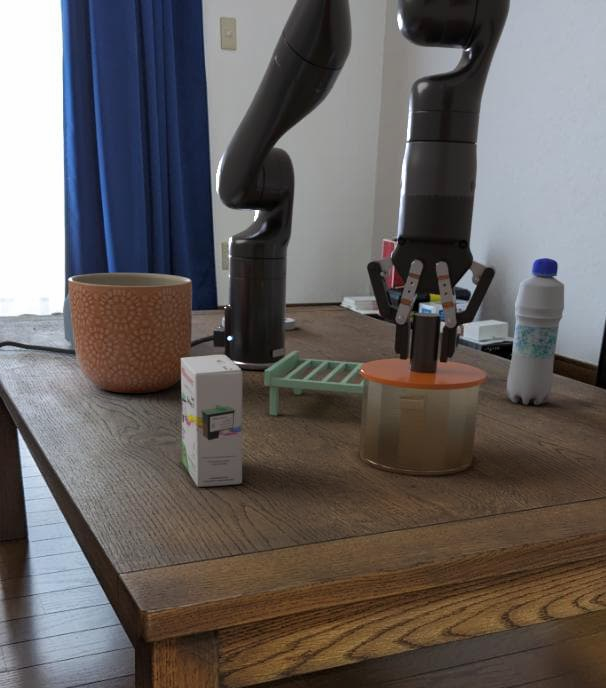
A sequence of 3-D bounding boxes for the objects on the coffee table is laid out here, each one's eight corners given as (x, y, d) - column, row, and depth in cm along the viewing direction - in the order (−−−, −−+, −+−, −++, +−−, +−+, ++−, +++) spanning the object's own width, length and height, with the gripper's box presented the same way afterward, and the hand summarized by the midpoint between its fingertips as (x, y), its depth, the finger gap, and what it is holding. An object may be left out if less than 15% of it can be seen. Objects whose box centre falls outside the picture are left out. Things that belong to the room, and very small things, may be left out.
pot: (345, 476, 95) (350, 387, 92) (374, 433, 112) (379, 356, 108) (465, 488, 93) (474, 398, 89) (476, 443, 109) (484, 365, 105)
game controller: (294, 325, 188) (294, 316, 188) (296, 335, 177) (296, 326, 176) (223, 323, 188) (223, 314, 187) (219, 334, 176) (219, 324, 175)
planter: (158, 405, 121) (154, 289, 115) (51, 391, 126) (42, 280, 121) (212, 381, 136) (212, 277, 130) (115, 370, 141) (110, 270, 136)
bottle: (552, 399, 132) (572, 257, 125) (548, 409, 126) (569, 261, 119) (506, 394, 134) (523, 255, 127) (500, 404, 128) (518, 258, 121)
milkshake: (460, 384, 140) (467, 319, 136) (426, 382, 141) (431, 317, 137) (461, 378, 144) (468, 315, 140) (428, 376, 145) (433, 313, 141)
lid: (348, 388, 94) (352, 318, 91) (370, 364, 107) (374, 302, 104) (481, 400, 91) (489, 328, 88) (488, 374, 104) (495, 310, 101)
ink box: (180, 463, 98) (178, 354, 93) (225, 460, 99) (225, 353, 95) (196, 488, 90) (194, 371, 86) (243, 485, 92) (244, 370, 87)
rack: (263, 415, 118) (264, 370, 116) (292, 391, 132) (293, 350, 129) (377, 426, 115) (380, 380, 112) (395, 400, 128) (398, 358, 126)
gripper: (509, 193, 93) (491, 358, 100) (375, 188, 96) (365, 349, 103) (507, 194, 87) (487, 371, 93) (362, 189, 90) (353, 361, 96)
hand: (423, 359), depth 98 cm, fingers open, 3 cm apart
